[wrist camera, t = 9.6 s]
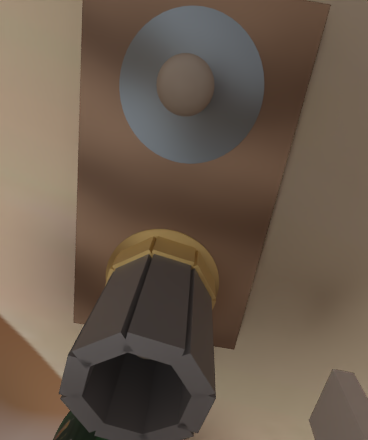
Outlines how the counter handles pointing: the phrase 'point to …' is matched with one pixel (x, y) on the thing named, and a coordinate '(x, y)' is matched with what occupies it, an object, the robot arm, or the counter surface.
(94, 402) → the sleeve ochre
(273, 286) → the counter surface
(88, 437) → the coffee jar
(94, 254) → the pin board
